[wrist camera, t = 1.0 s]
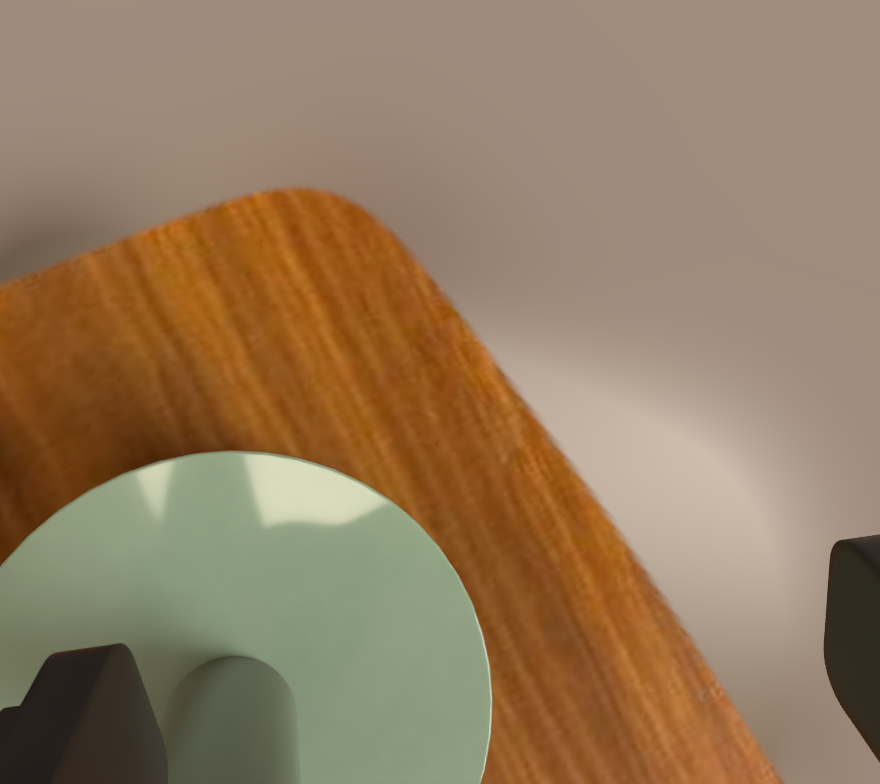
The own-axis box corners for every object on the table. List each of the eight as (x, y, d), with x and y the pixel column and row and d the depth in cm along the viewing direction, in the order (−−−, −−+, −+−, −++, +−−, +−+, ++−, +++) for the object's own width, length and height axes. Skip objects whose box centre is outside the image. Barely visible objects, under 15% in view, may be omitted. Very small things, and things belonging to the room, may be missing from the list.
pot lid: (-170, 733, 17) (-549, 991, 9) (233, 345, 19) (200, 287, 11) (234, 1074, 18) (200, 1554, 11) (575, 678, 20) (761, 835, 12)
